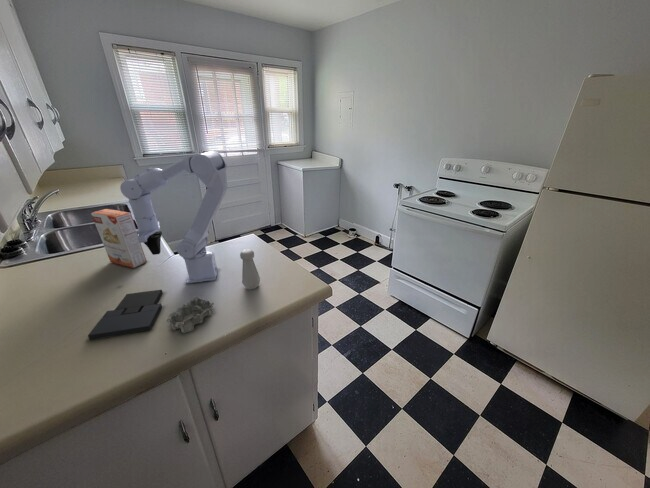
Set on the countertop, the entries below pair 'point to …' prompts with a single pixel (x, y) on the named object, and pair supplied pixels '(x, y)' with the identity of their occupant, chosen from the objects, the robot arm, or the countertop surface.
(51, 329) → the countertop surface
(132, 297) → the black pad
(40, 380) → the countertop surface
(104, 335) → the charcoal pad
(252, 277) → the salt shaker
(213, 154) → the robot arm
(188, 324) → the egg carton
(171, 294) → the countertop surface
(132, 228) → the cracker box
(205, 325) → the countertop surface
